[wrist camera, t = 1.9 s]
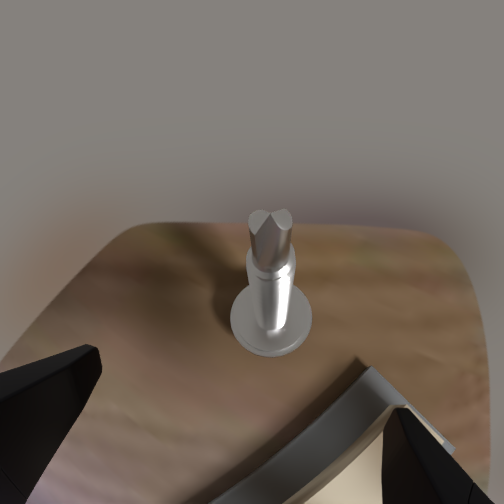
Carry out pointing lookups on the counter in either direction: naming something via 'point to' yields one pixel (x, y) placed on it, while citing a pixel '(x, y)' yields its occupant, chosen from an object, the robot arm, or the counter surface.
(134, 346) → the counter surface
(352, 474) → the stand
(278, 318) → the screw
